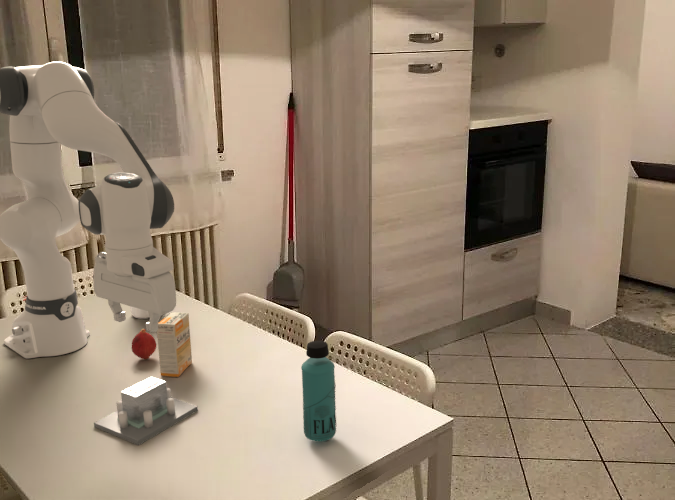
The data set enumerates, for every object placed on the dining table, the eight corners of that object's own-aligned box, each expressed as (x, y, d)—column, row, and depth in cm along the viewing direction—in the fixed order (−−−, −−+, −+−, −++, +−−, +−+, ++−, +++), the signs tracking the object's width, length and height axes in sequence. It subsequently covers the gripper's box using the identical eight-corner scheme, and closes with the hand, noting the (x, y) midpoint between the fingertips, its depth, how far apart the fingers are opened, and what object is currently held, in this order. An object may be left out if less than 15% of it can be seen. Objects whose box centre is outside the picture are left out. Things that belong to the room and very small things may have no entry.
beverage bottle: (310, 452, 131) (307, 353, 126) (298, 435, 137) (294, 340, 132) (342, 444, 134) (340, 346, 128) (328, 428, 140) (326, 334, 134)
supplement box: (179, 377, 163) (174, 325, 159) (160, 376, 164) (155, 323, 160) (193, 362, 171) (189, 312, 167) (174, 361, 172) (170, 311, 168)
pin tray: (94, 427, 142) (92, 409, 141) (154, 395, 155) (153, 378, 154) (138, 445, 135) (136, 426, 134) (197, 410, 148) (196, 393, 147)
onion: (139, 366, 169) (136, 335, 167) (128, 359, 173) (125, 328, 171) (161, 359, 173) (158, 329, 171) (150, 352, 177) (147, 322, 175)
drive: (123, 418, 142) (120, 391, 141) (153, 402, 149) (151, 376, 147) (138, 424, 140) (135, 396, 138) (168, 407, 147) (166, 380, 145)
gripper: (82, 253, 138) (88, 319, 142) (153, 271, 127) (159, 342, 131) (108, 246, 143) (114, 310, 147) (179, 263, 132) (183, 331, 136)
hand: (136, 325), depth 139 cm, fingers open, 8 cm apart
